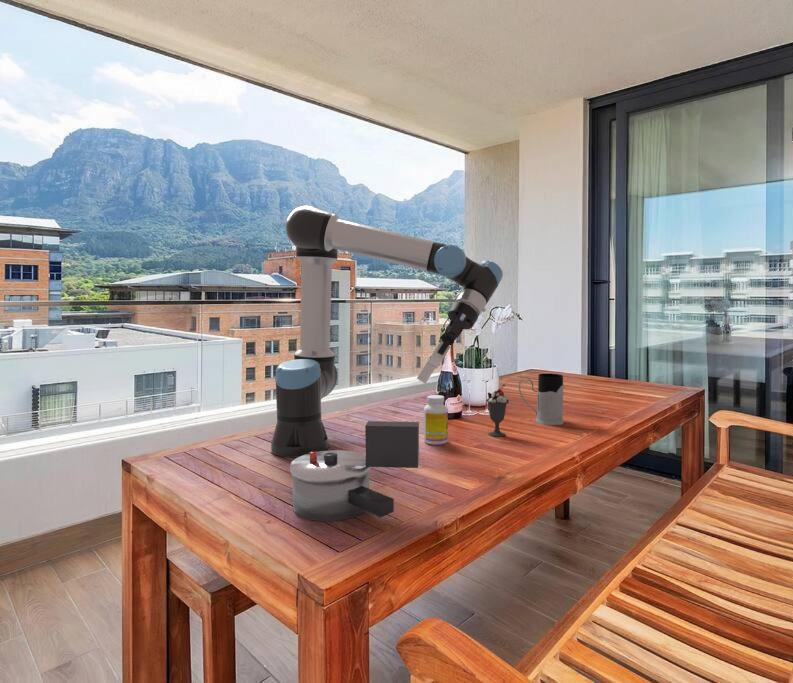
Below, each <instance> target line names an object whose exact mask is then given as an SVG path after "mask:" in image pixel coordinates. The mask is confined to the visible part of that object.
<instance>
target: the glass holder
mask: <svg viewBox="0 0 793 683" xmlns="http://www.w3.org/2000/svg"><path fill="white" fill-rule="evenodd" d="M537 379H538V382H537V383H538V384H537V385H538V386H537V387H538V389H537V390H536V389H535V390H534V382H533V380H531V379H530V378H527V377H524V378H521V379H520V381H519V384H518V390H519V391H518V392H519V394H520V397H521V399H522V401H523V402H524V403H525V404H526V405H527V406H528V407H530V408H531V409H532V411H534V412H535V415H536V419H535V423H537V424H540V425H545V426H546V425H547V426H561V425H563V424H564V423H565V421H564V418H563V415H564V375H563V374H559V373H539V374H538V378H537ZM523 380H528V381H529V382H530V383H531V390H532V392H535V393H537V397H536V398H537V407H536V408H537V409H535V408H534V407H533V406H532V405H531V404H529V403H528V401H526V399H525V397H523V394H522V391H521V382H522V381H523Z"/></svg>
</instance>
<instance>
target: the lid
mask: <svg viewBox="0 0 793 683" xmlns="http://www.w3.org/2000/svg"><path fill="white" fill-rule="evenodd" d="M364 430H365V432H364V435H365V440H364V441H365V454H363V453H360V452H357V451H350V450H342V449H341V450H340V449H339V450H338V449H337V450H335V449H334V450H326V451H320V452H316V451H311V452H310V454H306V455H303V456H300V457H295V458H294V460H292V461H291V463H290V468H289V470H290V474H291V477H292V476H293V477H295V478H296V479H298V480H301V481H305V482H310V483H321V484H328V483H340V482H346V481H351V480H354V479H358V478H360V477H362V476H364V475H366V474H367V473H368V472H369V473H370V471H371V470H372V468H398V469H399V468H403V469H406V468H407V469H419V464H420V422H419V421H390V420H387V421H385V420H384V421H383V420H379V421H377V420H368V421H367V422H366V424H365V428H364Z"/></svg>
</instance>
